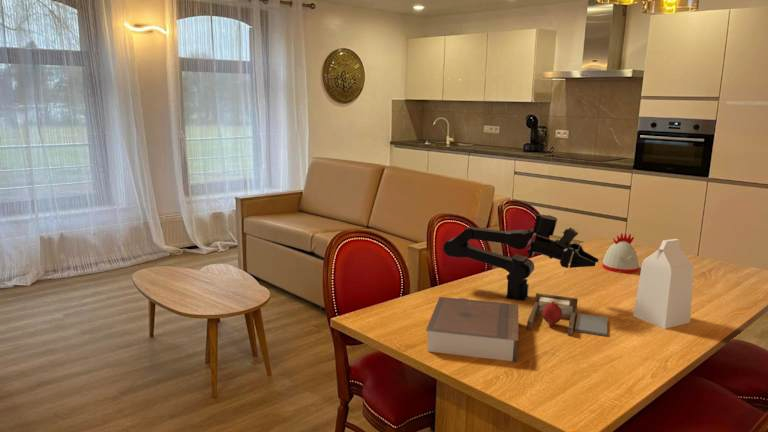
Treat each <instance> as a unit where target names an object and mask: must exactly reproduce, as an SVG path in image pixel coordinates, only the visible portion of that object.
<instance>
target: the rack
mask: <svg viewBox="0 0 768 432" xmlns="http://www.w3.org/2000/svg"><path fill="white" fill-rule="evenodd" d="M540 297H546V298H553V299H560V300H567V301H570V306H573V310H572V313H571V318H570V319H569V323H568V326H567V336H570V337H572V336H573V333H574V329H575V324H576V319H577V308H578V300H579V299H578V298H576V297H568V296H562V295H561V296H560V295H554V294H546V293H538V292H536V293H535V302H534V304H533V306H532V309H531V312H530V314H529V316H528V319H527V322H526V330H532V328H533V325H534V322H535V320H536V317H537V316H538V314H537V309H538V306H539V300H540Z"/></svg>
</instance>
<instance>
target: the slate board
mask: <svg viewBox="0 0 768 432" xmlns="http://www.w3.org/2000/svg"><path fill="white" fill-rule="evenodd" d="M608 318H609V317H608V316H607V317H606V316H600V315H593V314H587V313H586V314H584V313H577V314H576V319H575V324H574V332H577V333H583V334H590V335H596V336H603V337H608Z"/></svg>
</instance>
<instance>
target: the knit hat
mask: <svg viewBox="0 0 768 432" xmlns="http://www.w3.org/2000/svg"><path fill="white" fill-rule="evenodd" d="M631 236H632V234H631V233H629V234H628V236H627V232H625V233H624V234H623V233H622V232H621V233H620V236H619V235H616V239H617V240H616V239H615V238H613V242H614V243H613V244H612V245H611V246H609V248H608V249H607V250H606V252H605V255H604V257H603V260H602V266H601V267H602V269H604V270H606V271H609V272H613V273H618V274H636V273H638V272H639V268H640V267H639V266H640V264H639V259H638V254H637V251H636V249H635V248H634V247H633V246H632V245H631V244H632V243H633V241H634V239H635V237H634V236H632V237H631Z"/></svg>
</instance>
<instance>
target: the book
mask: <svg viewBox="0 0 768 432" xmlns="http://www.w3.org/2000/svg"><path fill="white" fill-rule="evenodd" d="M466 299H467V298H465V299H459V298H452V297H443V296H439V297H438V300H437V302H436V305H435V307H434V309H433V312H432V314H431V317H430V319H429V322H428V324H427V326H426V329H425V332H427V348H426V350H427V352H430V353H439V354H447V355H455V356H456V355H457V356H463V357H464V356H465V357H473V358H483V359H488V360H489V359H490V360H499V361H506V362H507V361H508V362H513V363H517V362H518V350H519V347H518V346H519V304H516V303H508V302H507V303H506V302H498V301H497V302H496V301H485V300H473V299H468V300H466Z"/></svg>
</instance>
